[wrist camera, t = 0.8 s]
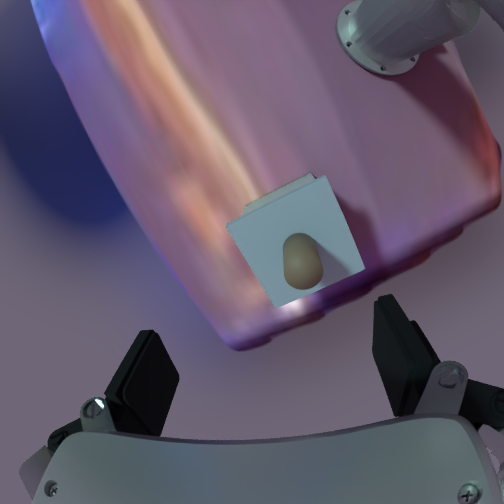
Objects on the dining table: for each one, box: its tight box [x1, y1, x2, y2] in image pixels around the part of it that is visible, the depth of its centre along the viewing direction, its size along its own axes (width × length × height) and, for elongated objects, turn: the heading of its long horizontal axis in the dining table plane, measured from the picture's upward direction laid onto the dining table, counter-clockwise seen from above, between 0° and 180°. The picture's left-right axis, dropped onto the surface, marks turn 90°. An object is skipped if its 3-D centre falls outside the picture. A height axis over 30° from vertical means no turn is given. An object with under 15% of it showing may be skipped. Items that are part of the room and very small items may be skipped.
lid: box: [226, 175, 365, 308], centre depth 28 cm, size 12×12×6 cm
